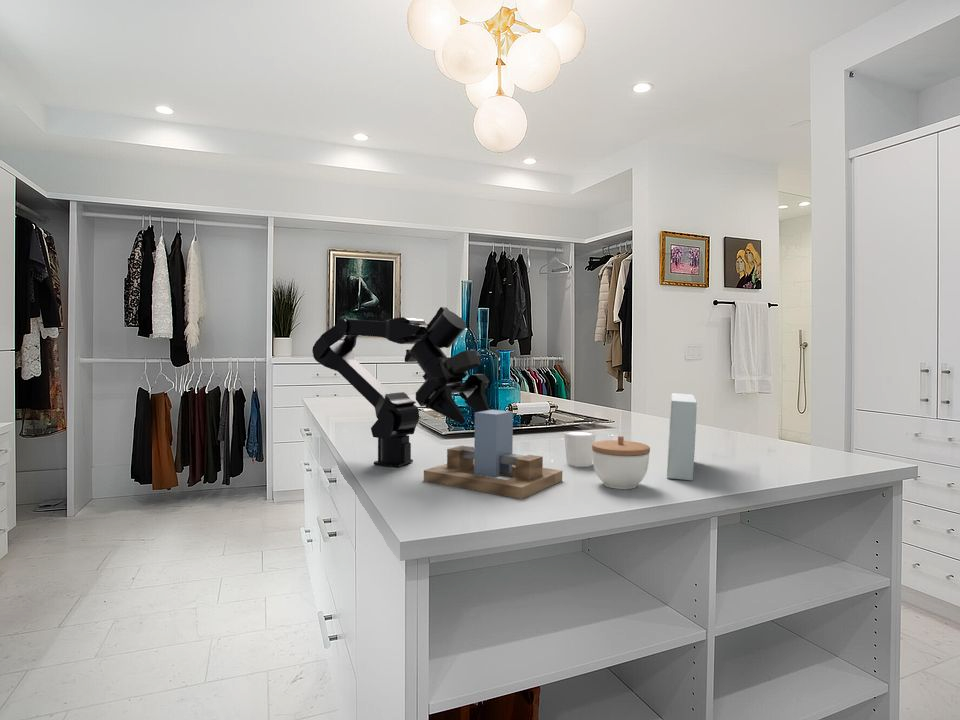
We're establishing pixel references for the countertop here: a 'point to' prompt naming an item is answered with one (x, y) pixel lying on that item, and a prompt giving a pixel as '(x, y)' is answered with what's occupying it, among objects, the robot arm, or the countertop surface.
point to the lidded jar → (620, 462)
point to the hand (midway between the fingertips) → (477, 420)
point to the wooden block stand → (523, 483)
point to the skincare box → (681, 437)
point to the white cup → (579, 448)
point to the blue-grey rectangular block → (492, 442)
